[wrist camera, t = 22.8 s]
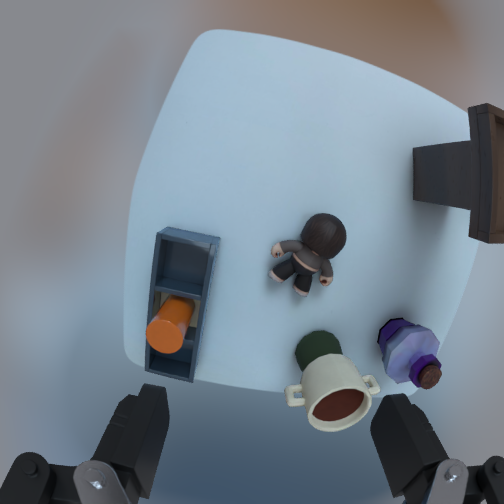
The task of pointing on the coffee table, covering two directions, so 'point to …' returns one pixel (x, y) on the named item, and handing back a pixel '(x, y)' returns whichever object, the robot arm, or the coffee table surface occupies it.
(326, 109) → the coffee table surface
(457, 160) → the walnut tray stand
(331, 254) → the figurine
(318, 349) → the character mug
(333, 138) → the coffee table surface
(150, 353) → the three-compartment dish
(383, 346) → the potion bottle
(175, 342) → the orange glossy cylinder
